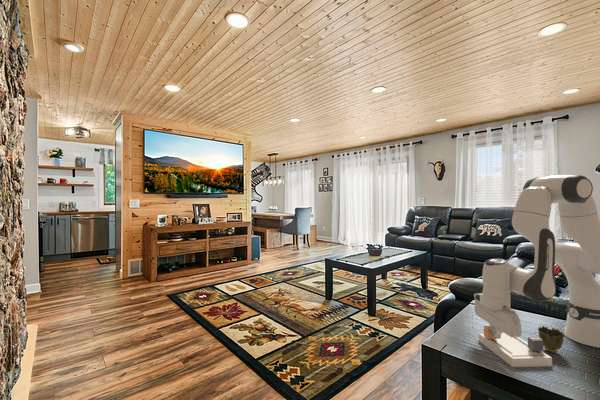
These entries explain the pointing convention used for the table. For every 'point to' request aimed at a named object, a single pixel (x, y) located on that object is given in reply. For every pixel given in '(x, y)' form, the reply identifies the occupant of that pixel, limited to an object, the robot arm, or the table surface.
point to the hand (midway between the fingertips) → (496, 337)
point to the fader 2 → (535, 344)
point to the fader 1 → (488, 333)
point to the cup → (551, 339)
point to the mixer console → (516, 351)
